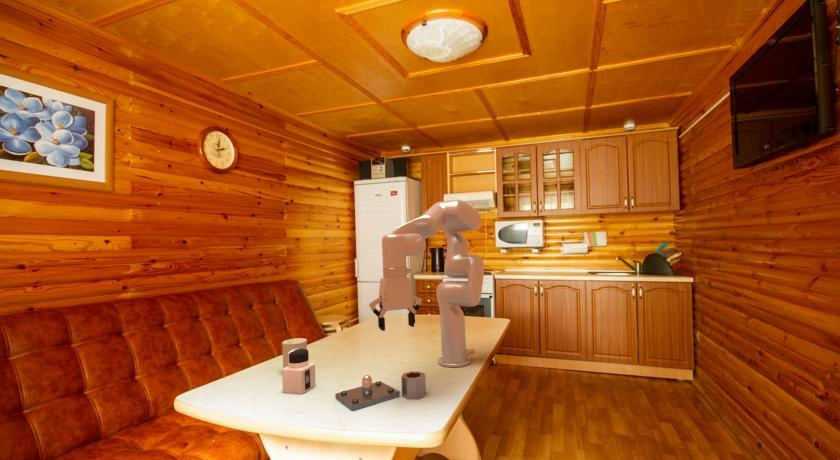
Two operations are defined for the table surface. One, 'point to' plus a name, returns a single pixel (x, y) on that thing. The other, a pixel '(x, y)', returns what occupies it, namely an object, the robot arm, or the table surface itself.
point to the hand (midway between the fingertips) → (397, 328)
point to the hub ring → (413, 385)
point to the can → (292, 347)
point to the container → (298, 372)
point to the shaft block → (367, 394)
